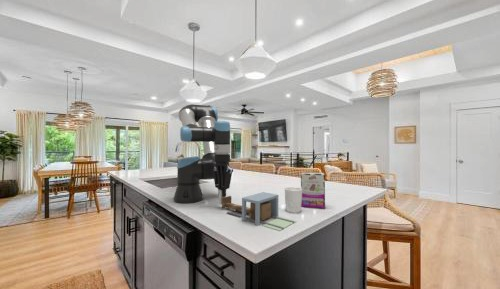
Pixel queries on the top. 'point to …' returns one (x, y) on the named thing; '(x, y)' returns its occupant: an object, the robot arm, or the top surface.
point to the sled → (264, 208)
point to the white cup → (293, 199)
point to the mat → (279, 223)
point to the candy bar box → (313, 190)
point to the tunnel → (257, 200)
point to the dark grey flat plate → (236, 213)
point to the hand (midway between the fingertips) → (222, 203)
